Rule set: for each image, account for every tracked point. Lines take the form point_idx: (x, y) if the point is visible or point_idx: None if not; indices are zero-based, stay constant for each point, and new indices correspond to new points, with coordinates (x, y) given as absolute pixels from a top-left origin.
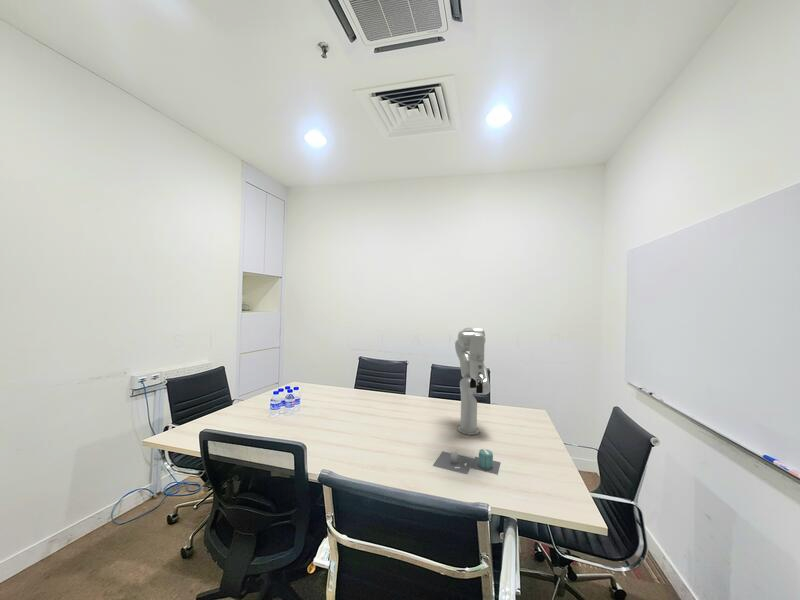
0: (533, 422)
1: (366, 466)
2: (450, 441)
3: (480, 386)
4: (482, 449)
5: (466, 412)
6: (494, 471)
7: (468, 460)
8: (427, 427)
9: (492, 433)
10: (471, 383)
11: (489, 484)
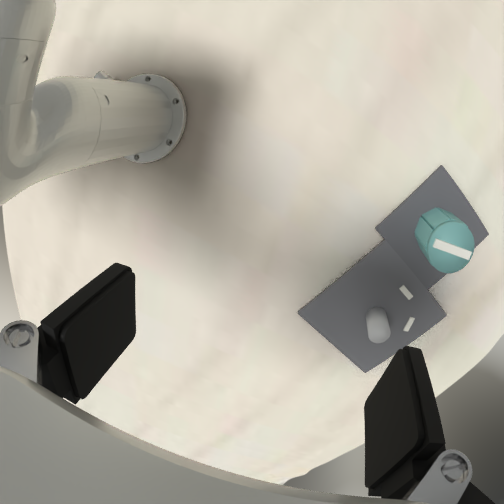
0: None
1: (298, 454)
2: (222, 240)
3: (432, 459)
4: (431, 248)
5: (112, 150)
6: (474, 230)
7: (389, 268)
8: (105, 258)
9: (190, 29)
10: (103, 366)
11: (498, 280)
